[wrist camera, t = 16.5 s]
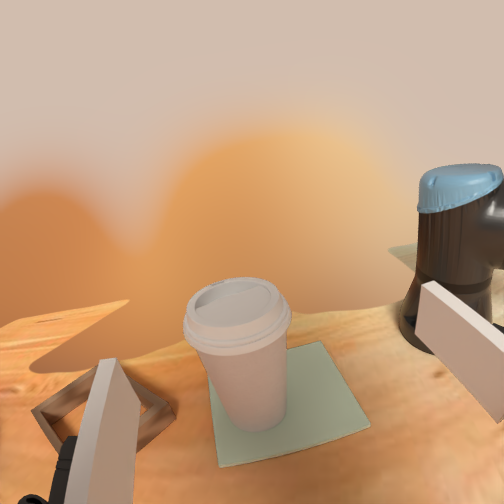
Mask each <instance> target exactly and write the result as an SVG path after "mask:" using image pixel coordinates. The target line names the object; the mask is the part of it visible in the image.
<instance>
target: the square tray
mask: <svg viewBox="0 0 504 504" xmlns="http://www.w3.org/2000/svg"><path fill="white" fill-rule="evenodd" d="M98 365H99V364H98ZM98 365H97V366H95V367H94V368H92V369H91V370H89V371H88V372H86V373H85V374H84V375H82V376H81V377H79V378H78V379H76V380H75V381H73V382H72V383H70V384H69V385H67V386H66V387H65V388H63V389H62V390H60V391H59V392H57V393H56V394H54V395H53V396H51V397H50V398H48V399H47V400H45V401H44V402H43V403H41V404H40V405H38V406H37V407H35V408H34V409H32V410H31V412H32V414H33V415H34V417H35V419H36V420H37V422H38V424H39V425H40V427H41V429H42V430H43V432H44V433H45V435H46V436H47V438H48V440H49V441H50V443H51V444H52V446H53V447H54V448H55V450H56V451H57V453H58V454H59V453H60V449H61V446H62V445H63V442H62V441H61V439H60V438H59V436H58V435H57V434H56V432H55V431H54V429H53V428H52V426H51V425H52V424H53V423H55V422H56V421H58V420H59V419H60V418H62V417H63V416H65V415H66V414H67V413H69V412H70V411H72V410H73V409H74V408H76V407H77V406H79V405H80V404H81V403H83V402H84V401H86V400H87V399H88V397H89V394H90V391H91V387H92V384H93V381H94V377H95V374H96V371H97V368H98ZM125 375H126V374H125ZM126 377H127V379H128V381H129V382H130V384H131V386H132V388H133V390H134V391H135V393H136V395H137V397H138V398H139V400H140V402H141V405H142V406H143V407H145V408H146V409H148V410H147V411H146V412H145V413H144V414H142V415H141V416H140V417H139V426H138V436H137V447H136V453H137V452H138V451H140V450H141V449H142V448H143V447H144V446H146V445H147V444H148V443H149V442H150V441H151V440H153V439H154V438H155V437H156V436H157V435H158V434H159V433H161V432H162V431H163V430H164V429H165V428H166V427H167V426H169V425H170V424H171V423H172V422H173V421H174V420H175V419H176V417H175V415H174V413H173V411H172V409H171V407H170V405H169V403H168V402H166V401H165V400H163V399H162V398H160V397H158V396H157V395H155V394H154V393H152V392H151V391H149V390H148V389H146V388H145V387H143V386H142V385H140V384H139V383H137V382H136V381H135V380H133V379H132V378H130V377H129V376H127V375H126Z"/></svg>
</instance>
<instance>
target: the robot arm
mask: <svg viewBox="0 0 504 504" xmlns="http://www.w3.org/2000/svg"><path fill="white" fill-rule="evenodd" d="M417 211H418V212H419V227H418V247H417V261H416V273H415V277H414V279H413V282H412V284H411V286H410V288H409V291H408V293H407V295H406V297H405V299H404V301H403V303H402V306H401V310H400V318H399V327H400V330H401V332H402V334H403V336H404V337H405V338H406V339H407V340H408V341H409V342H410V343H411V344H412V345H414V346H415V347H417V348H418V349H420V350H422V351H424V352H427V353H430V354H433V355H436V356H437V357H438V358H439V360H440V361H441V362H442V363H443V364H444V365H445V366H446V367H447V368H448V369H449V370H450V371H451V372H452V373H453V374H454V376H455V377H456V378H457V379H458V380H459V381H460V382H461V383H462V384H463V385H464V386H465V388H466V389H467V390H468V391H469V392H470V393H471V394H472V395H473V396H474V398H475V399H476V400H477V401H478V402H479V403H480V404H481V405H482V407H483V408H484V409H485V410H486V411H487V412H488V413H489V415H490V416H491V417H492V418H493V419H494V420H495V422H496V423H497V424H498V423H499V422H501V421H502V420H503V419H504V327H502V326H500V325H497V324H495V323H493V324H492V304H491V291H490V284H491V279H492V273H493V270H494V269H502V270H504V175H503V173H502V170H501V168H500V167H498V166H495V165H490V164H457V165H448V166H442V167H438V168H435V169H432V170H429V171H428V172H426V173H425V174H424V175H423V176H422V178H421V180H420V184H419V203H418V205H417ZM140 408H141V402H140V400H139V398H138V397H137V395H136V393H135V391H134V390H133V388H132V386H131V384H130V382H129V381H128V379H127V377H126V375H125V373H124V371H123V369H122V367H121V365H120V363H119V361H118V359H117V358H111V359H104V360H100V362H99V365H98V368H97V371H96V374H95V377H94V381H93V384H92V387H91V391H90V394H89V397H88V401H87V404H86V408H85V411H84V415H83V419H82V423H81V426H80V430H79V434H78V436H68V437H67V439H66V440H65V442H64V443H63V445H62V446H61V449H60V453H59V457H58V460H59V461H57V465H56V470H55V473H54V477H53V482H52V486H51V491H50V496H49V501H48V502H47V501H46V500H44V499H43V498H41V497H40V496H38V495H34V494H29V495H26V496H24V497H23V498H22V499H20V500H19V502H18V504H133V489H134V472H135V459H136V447H137V436H138V426H139V417H140Z"/></svg>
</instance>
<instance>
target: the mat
mask: <svg viewBox="0 0 504 504" xmlns="http://www.w3.org/2000/svg"><path fill="white" fill-rule="evenodd" d="M208 383H209V393H210V402H211V411H212V420H213V428H214V436H215V444H216V451H217V459H218V465H219V467H220V468H223V467H229V466H235V465H240V464H246V463H251V462H255V461H260V460H265V459H269V458H273V457H278V456H282V455H286V454H289V453H293V452H297V451H301V450H304V449H308V448H311V447H314V446H318V445H321V444H324V443H327V442H330V441H333V440H336V439H339V438H342V437H345V436H348V435H350V434H353V433H356V432H359V431H361V430H364V429H366V428H369V427H370V426H371V423H370V421H369V420H368V418H367V416H366V415H365V413H364V411H363V410H362V408H361V406H360V405H359V403H358V401H357V400H356V398H355V397H354V395H353V393H352V392H351V390H350V388H349V387H348V385H347V383H346V382H345V380H344V378H343V377H342V375H341V373H340V372H339V370H338V369H337V367H336V365H335V364H334V362H333V360H332V359H331V357H330V355H329V354H328V352H327V350H326V349H325V347H324V346H323V344H322V342H321V341H317V342H314V343H310V344H306V345H303V346H299V347H295V348H291V349H287V407H286V414H285V416H284V418H283V419H282V421H281V422H280V423H279V424H278V425H276V426H275V427H273V428H271V429H269V430H266V431H262V432H247V431H243V430H241V429H239V428H237V427H236V426H235V425H234V424H233V423H232V422H231V420H230V418H229V416H228V414H227V412H226V410H225V408H224V406H223V404H222V402H221V400H220V398H219V396H218V394H217V392H216V390H215V388H214V386H213V384H212V382H211V380H210V378H209V376H208Z"/></svg>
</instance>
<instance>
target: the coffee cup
mask: <svg viewBox="0 0 504 504" xmlns="http://www.w3.org/2000/svg"><path fill="white" fill-rule="evenodd" d="M291 318H292V313H291V309H290V307H289V305H288V303H287V301H286V300H285V298H284V297H283V295H282V294H281V293H279V291H278V289H277V287H276V286H275V285H273V284H272V283H271V282H269V281H267V280H264V279H260V278H254V277H238V278H230V279H226V280H222V281H218V282H216V283H213V284H210V285H208V286H206V287H205V288H203V289H201V290H200V291H198V292H197V293H196V294H195V295H193V297H192V298H191V299H190V301H189V302H188V305H187V312H186V314H185V317H184V322H183V333H184V337H185V339H186V341H187V342H188V343H189V344H190V345H191V346H192V347H193V348H195V349H196V351H197V353H198V355H199V357H200V359H201V361H202V363H203V365H204V368H205V370H206V372H207V374H208V376H209V378H210V380H211V382H212V384H213V386H214V388H215V390H216V392H217V394H218V396H219V398H220V400H221V402H222V404H223V406H224V408H225V410H226V412H227V414H228V416H229V418H230V420H231V422H232V423H233V424H234V425H235V426H236V427H237V428H239V429H241V430H243V431H247V432H262V431H266V430H269V429H271V428H273V427H275V426H276V425H278V424H279V423H280V422H281V421H282V419H283V418H284V416H285V414H286V407H287V328H288V327H289V325H290V322H291Z"/></svg>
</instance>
